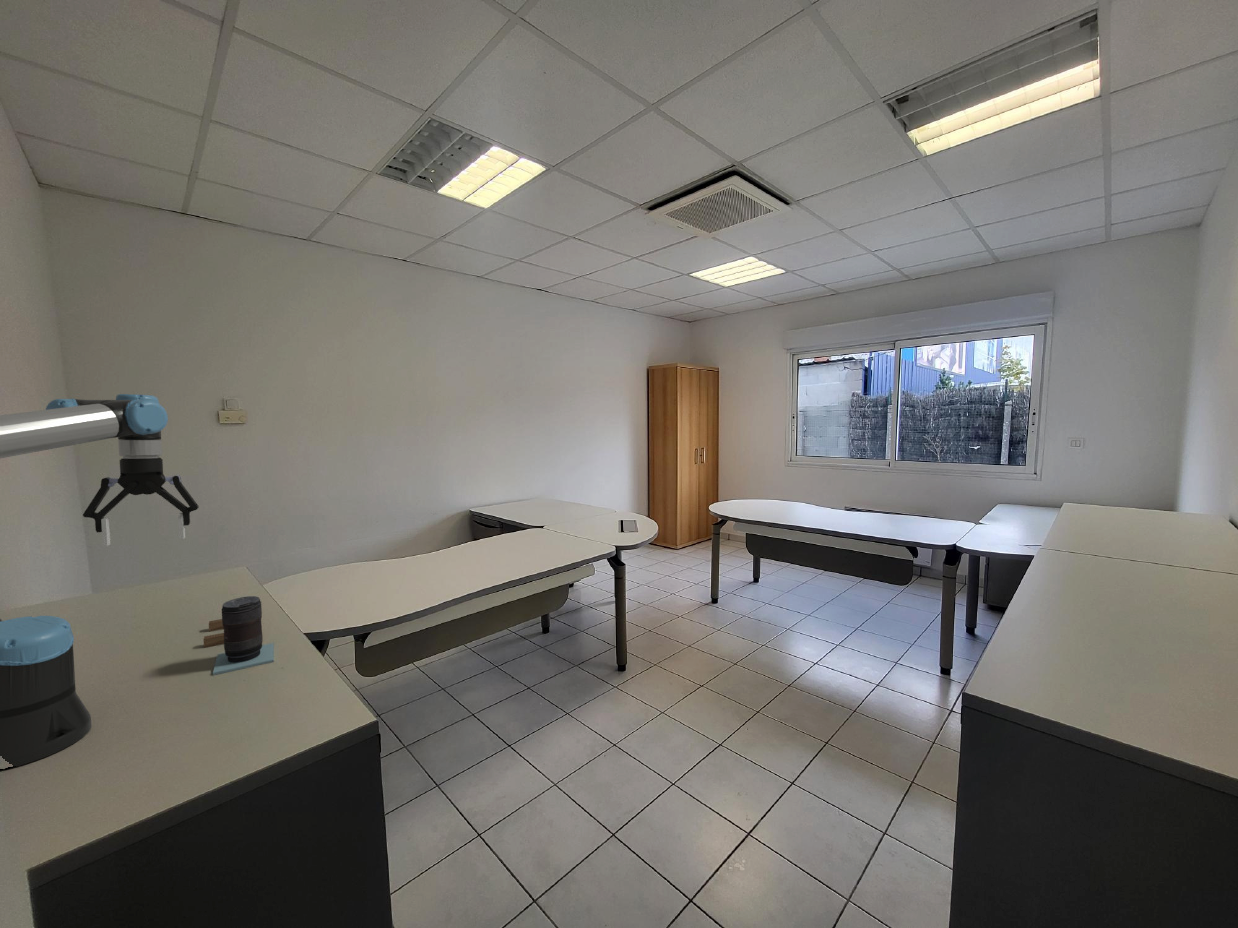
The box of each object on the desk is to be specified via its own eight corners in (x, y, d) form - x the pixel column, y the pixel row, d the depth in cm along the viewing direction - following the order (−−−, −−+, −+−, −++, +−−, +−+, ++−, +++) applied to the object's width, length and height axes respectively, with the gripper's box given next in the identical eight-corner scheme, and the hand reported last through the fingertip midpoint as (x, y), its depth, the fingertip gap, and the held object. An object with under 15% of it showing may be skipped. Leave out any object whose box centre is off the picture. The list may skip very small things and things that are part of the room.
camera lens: (217, 659, 122) (215, 603, 121) (253, 647, 129) (251, 593, 128) (233, 667, 118) (230, 608, 117) (269, 654, 125) (267, 599, 124)
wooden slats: (254, 637, 136) (253, 626, 136) (203, 647, 130) (203, 635, 130) (255, 620, 148) (255, 610, 148) (209, 629, 142) (209, 617, 142)
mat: (273, 661, 122) (273, 659, 122) (212, 675, 115) (212, 672, 115) (273, 644, 132) (273, 642, 132) (217, 656, 125) (217, 654, 125)
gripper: (209, 455, 127) (212, 533, 129) (71, 457, 113) (77, 545, 114) (206, 456, 121) (209, 538, 123) (60, 459, 107) (66, 551, 108)
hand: (145, 541), depth 118 cm, fingers open, 13 cm apart
